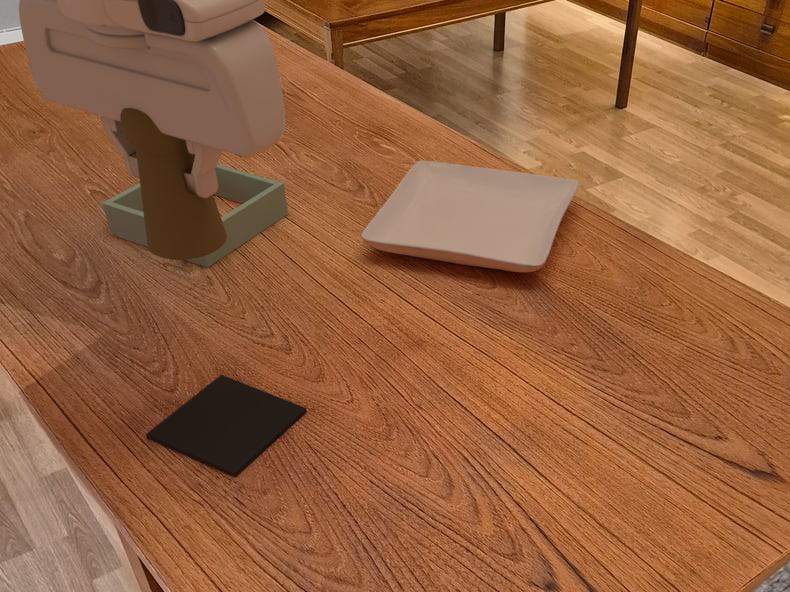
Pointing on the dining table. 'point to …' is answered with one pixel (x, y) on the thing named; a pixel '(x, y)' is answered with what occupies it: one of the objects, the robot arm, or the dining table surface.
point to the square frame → (241, 224)
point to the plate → (472, 216)
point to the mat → (227, 425)
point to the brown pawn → (171, 194)
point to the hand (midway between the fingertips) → (174, 184)
